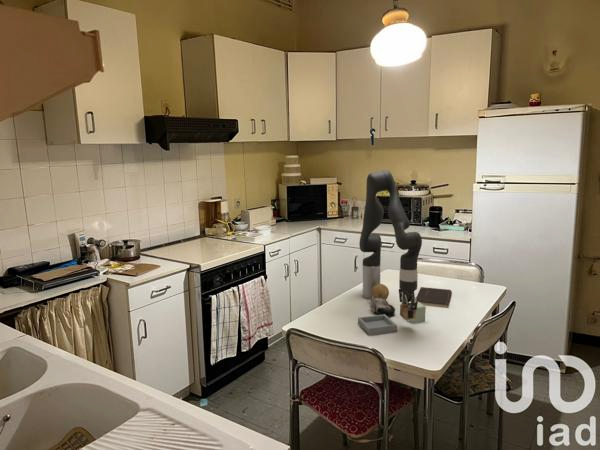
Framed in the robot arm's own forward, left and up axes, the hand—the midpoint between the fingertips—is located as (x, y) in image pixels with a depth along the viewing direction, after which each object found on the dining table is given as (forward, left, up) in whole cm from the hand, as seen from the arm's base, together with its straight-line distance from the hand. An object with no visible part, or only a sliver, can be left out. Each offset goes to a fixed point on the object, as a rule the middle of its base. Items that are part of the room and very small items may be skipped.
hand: (407, 315), depth 198 cm
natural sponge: (-33, +1, -6) cm, 33 cm away
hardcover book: (-31, +30, -7) cm, 43 cm away
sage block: (-9, +8, -6) cm, 13 cm away
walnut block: (0, 0, -1) cm, 1 cm away
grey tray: (-5, -12, -6) cm, 14 cm away
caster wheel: (-20, -3, -6) cm, 21 cm away
